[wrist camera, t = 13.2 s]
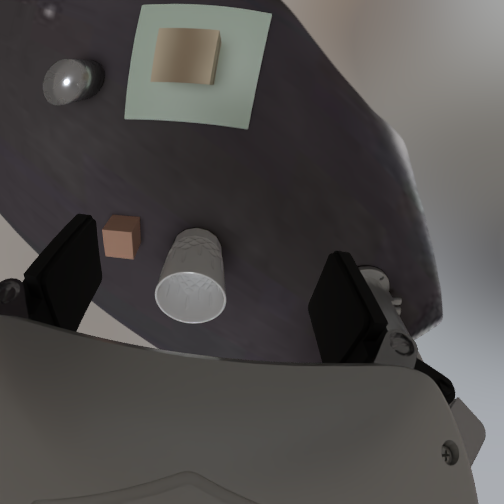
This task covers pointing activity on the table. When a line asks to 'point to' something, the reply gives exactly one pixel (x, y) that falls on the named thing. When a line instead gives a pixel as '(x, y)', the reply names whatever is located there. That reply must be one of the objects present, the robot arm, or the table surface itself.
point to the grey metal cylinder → (72, 81)
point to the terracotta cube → (122, 236)
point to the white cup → (192, 278)
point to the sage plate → (190, 94)
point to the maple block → (186, 55)
